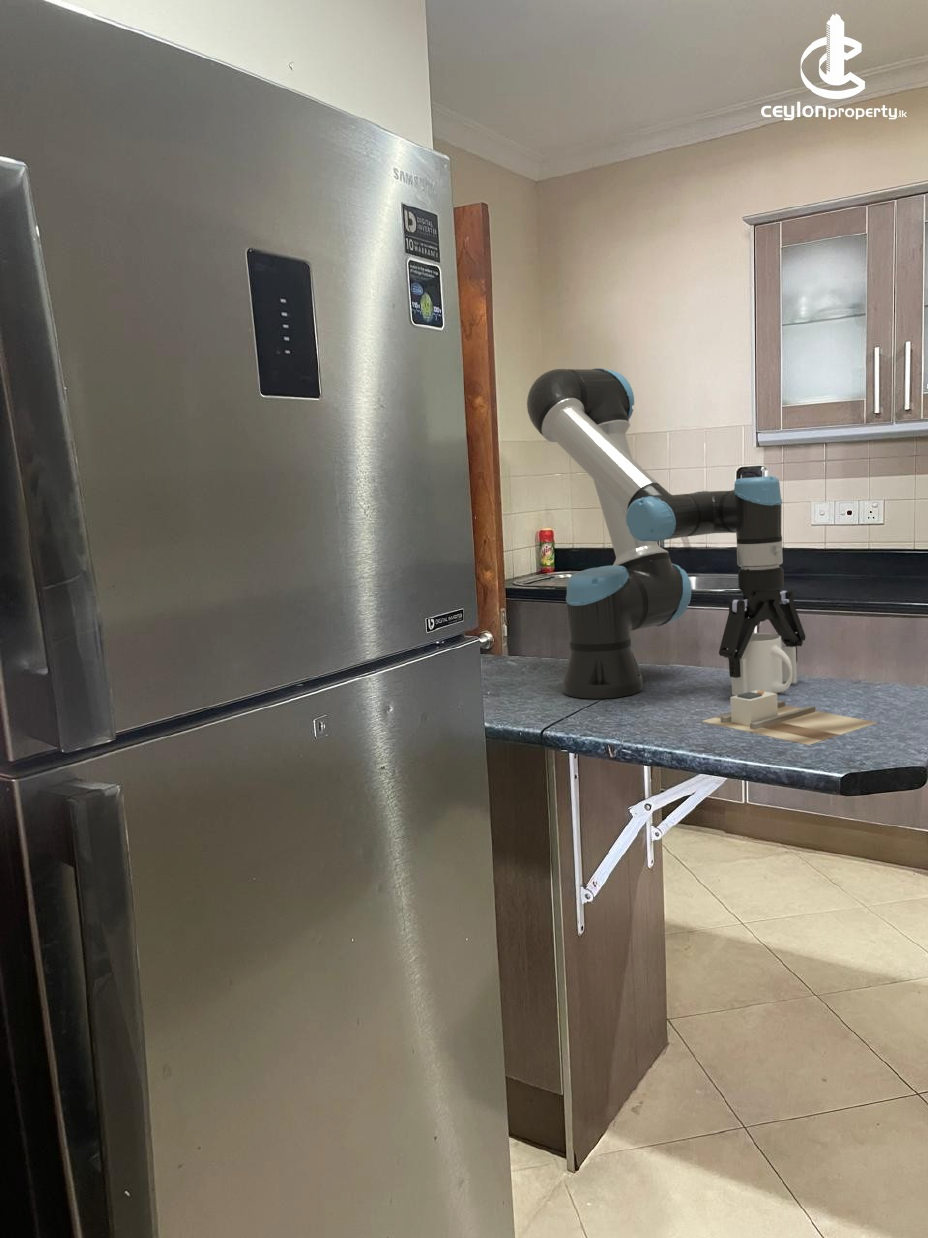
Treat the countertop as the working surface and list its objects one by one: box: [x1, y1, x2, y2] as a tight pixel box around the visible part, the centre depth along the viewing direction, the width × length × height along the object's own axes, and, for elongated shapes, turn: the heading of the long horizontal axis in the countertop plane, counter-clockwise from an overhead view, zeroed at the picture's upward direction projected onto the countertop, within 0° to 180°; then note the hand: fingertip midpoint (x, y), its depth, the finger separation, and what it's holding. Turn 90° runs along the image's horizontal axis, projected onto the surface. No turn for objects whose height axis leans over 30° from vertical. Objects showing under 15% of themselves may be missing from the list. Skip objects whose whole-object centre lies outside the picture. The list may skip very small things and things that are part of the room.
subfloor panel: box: [701, 700, 879, 746], centre depth 143 cm, size 20×16×2 cm
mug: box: [736, 632, 792, 694], centre depth 164 cm, size 9×12×11 cm
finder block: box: [729, 690, 778, 726], centre depth 145 cm, size 4×6×4 cm, turn 123°
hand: (764, 688), depth 164 cm, fingers open, 12 cm apart
